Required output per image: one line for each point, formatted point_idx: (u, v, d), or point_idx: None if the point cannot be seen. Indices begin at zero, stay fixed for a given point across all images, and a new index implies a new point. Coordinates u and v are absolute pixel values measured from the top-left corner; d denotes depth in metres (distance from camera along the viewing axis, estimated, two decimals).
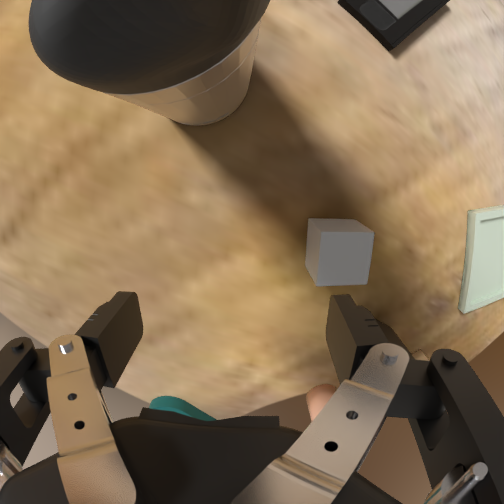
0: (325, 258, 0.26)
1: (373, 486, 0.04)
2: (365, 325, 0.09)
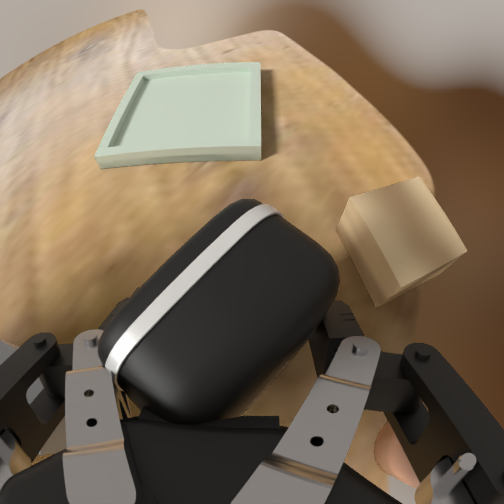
0: None
1: (373, 486, 0.04)
2: (340, 318, 0.10)
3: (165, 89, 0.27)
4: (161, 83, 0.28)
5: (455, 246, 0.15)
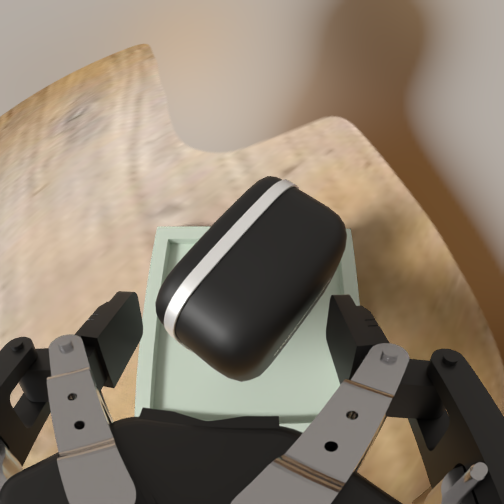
0: None
1: (373, 486, 0.04)
2: (365, 325, 0.09)
3: None
4: None
5: None
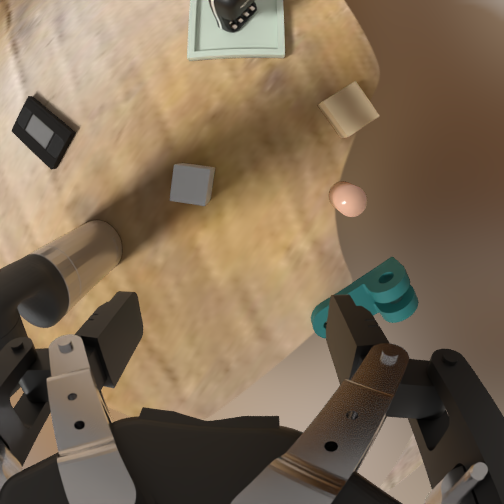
0: (186, 198, 0.40)
1: (373, 486, 0.04)
2: (365, 325, 0.09)
3: None
4: None
5: (373, 115, 0.36)
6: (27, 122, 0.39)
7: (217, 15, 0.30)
